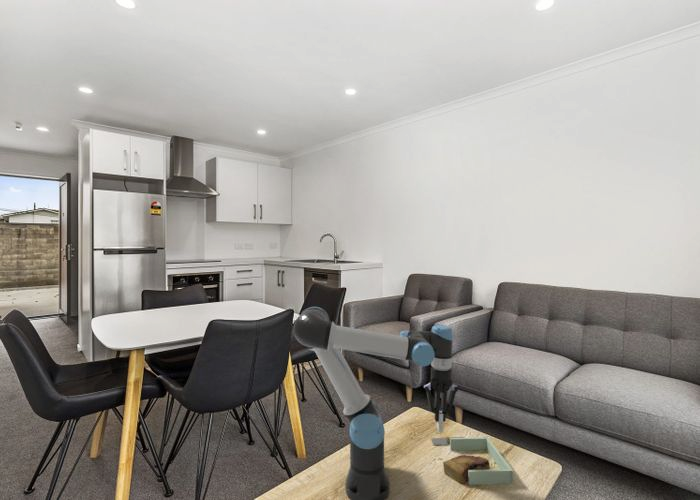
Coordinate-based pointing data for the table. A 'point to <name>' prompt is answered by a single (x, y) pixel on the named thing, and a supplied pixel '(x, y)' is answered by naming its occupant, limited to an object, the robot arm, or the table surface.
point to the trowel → (442, 440)
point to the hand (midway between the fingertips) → (439, 429)
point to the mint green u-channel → (482, 443)
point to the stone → (464, 467)
